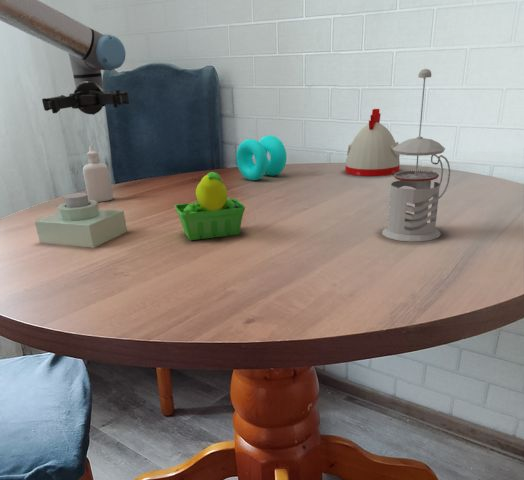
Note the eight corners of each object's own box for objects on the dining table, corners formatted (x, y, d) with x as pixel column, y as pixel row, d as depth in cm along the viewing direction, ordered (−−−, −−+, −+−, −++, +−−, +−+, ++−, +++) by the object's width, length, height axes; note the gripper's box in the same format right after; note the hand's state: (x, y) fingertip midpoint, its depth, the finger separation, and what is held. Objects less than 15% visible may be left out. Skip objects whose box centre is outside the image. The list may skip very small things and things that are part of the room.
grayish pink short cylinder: (61, 209, 96) (59, 197, 95) (76, 203, 99) (74, 192, 98) (79, 210, 94) (77, 198, 93) (94, 204, 98) (91, 193, 97)
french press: (370, 231, 94) (378, 70, 83) (420, 220, 99) (435, 66, 87) (408, 245, 87) (423, 70, 75) (461, 232, 91) (483, 66, 79)
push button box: (39, 242, 98) (31, 209, 95) (76, 227, 106) (69, 196, 103) (93, 248, 93) (86, 213, 90) (127, 231, 101) (121, 199, 98)
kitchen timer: (404, 167, 145) (408, 106, 138) (392, 177, 134) (396, 111, 127) (353, 165, 150) (355, 106, 143) (338, 175, 139) (340, 111, 132)
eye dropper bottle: (93, 198, 128) (83, 145, 123) (116, 198, 127) (106, 144, 122) (85, 202, 125) (74, 147, 119) (108, 202, 124) (98, 147, 118)
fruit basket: (236, 224, 102) (232, 162, 97) (250, 237, 94) (246, 170, 89) (177, 232, 99) (169, 169, 94) (185, 246, 92) (177, 177, 86)
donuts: (289, 176, 141) (288, 135, 136) (262, 183, 135) (260, 140, 130) (262, 172, 147) (260, 133, 142) (235, 179, 141) (232, 138, 136)
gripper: (139, 109, 146) (142, 116, 128) (44, 117, 142) (32, 126, 124) (134, 78, 142) (136, 81, 124) (36, 85, 138) (23, 89, 120)
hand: (84, 103), depth 124 cm, fingers open, 13 cm apart
